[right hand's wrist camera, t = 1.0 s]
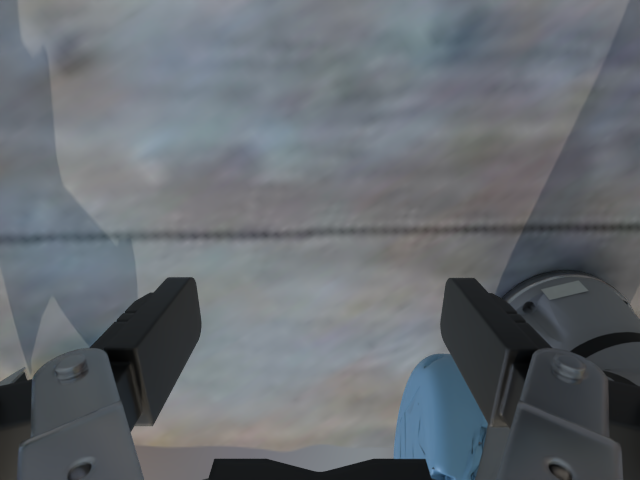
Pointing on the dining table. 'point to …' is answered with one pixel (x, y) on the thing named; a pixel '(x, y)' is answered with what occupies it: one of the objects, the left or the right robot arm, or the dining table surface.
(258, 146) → the dining table surface
